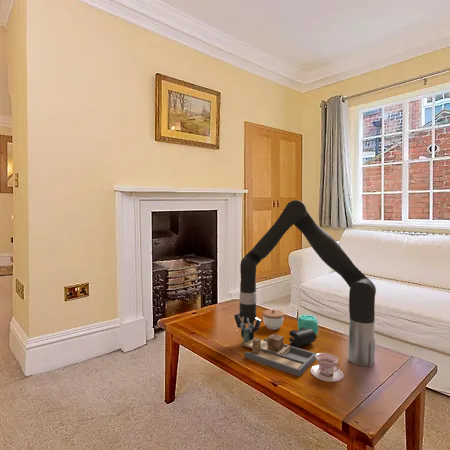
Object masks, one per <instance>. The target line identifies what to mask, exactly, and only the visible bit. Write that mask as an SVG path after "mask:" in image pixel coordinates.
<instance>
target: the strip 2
mask: <svg viewBox="0 0 450 450" xmlns="http://www.w3.org/2000/svg"><path fill="white" fill-rule="evenodd" d="M254 338H255V339H254V340H253V348H252V351H253V353H252V354H255V355H258V356H261V357H264V358H267V359H270V360H273V361H277V362H280V363H283V364H286V365H289V366H292V367H295V368H298V369H299V368H300V367H301V366H302V364H301V363H298V362H295V361H292V360H289V359H285V358H282V357H279V356H276V355H273V354H270V353H266V352H263V351H260V349H261V340H262V339H261V338H259V337H254Z"/></svg>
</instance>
